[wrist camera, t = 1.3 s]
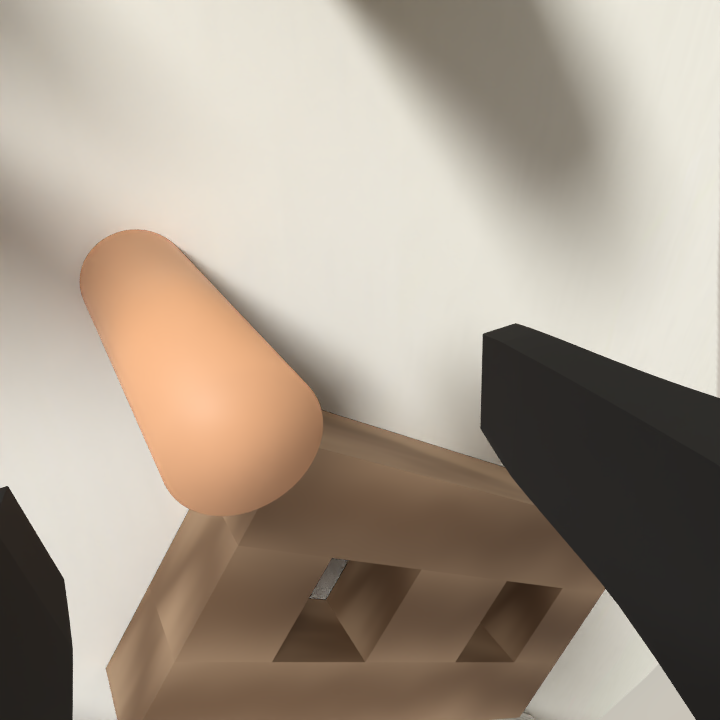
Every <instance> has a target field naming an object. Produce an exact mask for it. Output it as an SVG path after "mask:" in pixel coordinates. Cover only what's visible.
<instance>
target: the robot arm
mask: <svg viewBox="0 0 720 720" xmlns="http://www.w3.org/2000/svg"><path fill="white" fill-rule="evenodd" d="M481 430H482V432H483V433H484V435H485V437H486V438H487V440H488V441H489V443H490V445H491V446H492V448H493V450H494V451H495V453H496V454H497V456H498V457H499V459H500V460H501V462H502V463H503V465H504V466H505V468H506V470H507V471H508V473H509V474H510V476H511V477H512V478H513V480H514V481H515V482H516V483H517V484H518V486H519V487H520V488H521V489H522V490H523V492H524V493H525V494H526V495H527V496H528V498H529V499H530V500H531V501H532V502H533V504H534V505H535V506H536V507H537V508H538V510H539V511H540V512H541V513H542V514H543V515H544V517H545V518H546V519H547V520H548V521H549V522H550V524H551V525H552V526H553V527H554V528H555V529H556V531H557V532H558V533H559V534H560V535H561V536H562V538H563V539H564V540H565V541H566V542H567V544H568V545H569V546H570V547H571V548H572V549H573V551H574V552H575V553H576V554H577V555H578V556H579V558H580V559H581V560H582V561H583V562H584V563H585V565H586V566H587V567H588V568H589V569H590V570H591V572H592V573H593V574H594V575H595V576H596V577H597V579H598V580H599V581H600V582H601V584H602V585H603V586H604V587H605V589H606V590H607V591H608V592H609V594H610V595H611V596H612V597H613V599H614V600H615V601H616V603H617V604H618V605H619V607H620V608H621V609H622V611H623V612H624V614H625V615H626V617H627V618H628V619H629V621H630V622H631V624H632V625H633V627H634V628H635V629H636V631H637V632H638V634H639V635H640V637H641V638H642V640H643V641H644V642H645V644H646V645H647V647H648V648H649V650H650V651H651V652H652V654H653V655H654V657H655V658H656V660H657V661H658V663H659V664H660V666H661V667H662V669H663V670H664V672H665V673H666V675H667V676H668V678H669V679H670V681H671V682H672V684H673V685H674V687H675V688H676V690H677V691H678V693H679V694H680V696H681V698H682V699H683V701H684V702H685V704H686V705H687V707H688V708H689V710H690V711H691V713H692V714H693V716H694V717H695V719H696V720H720V398H717V397H714V396H711V395H708V394H705V393H702V392H699V391H696V390H693V389H690V388H687V387H684V386H681V385H678V384H676V383H673V382H670V381H667V380H664V379H662V378H659V377H656V376H653V375H651V374H648V373H645V372H643V371H640V370H637V369H635V368H632V367H629V366H627V365H624V364H622V363H619V362H616V361H614V360H611V359H609V358H606V357H604V356H601V355H599V354H596V353H594V352H591V351H589V350H586V349H583V348H581V347H578V346H576V345H573V344H571V343H568V342H566V341H563V340H561V339H558V338H556V337H553V336H550V335H548V334H545V333H543V332H540V331H537V330H534V329H532V328H529V327H526V326H523V325H520V324H516V323H515V324H512V325H509V326H506V327H503V328H499V329H496V330H493V331H490V332H487V333H484V334H483V351H482V390H481ZM72 712H73V647H72V638H71V629H70V620H69V612H68V605H67V597H66V590H65V583H64V578H63V577H62V575H61V573H60V572H59V570H58V568H57V567H56V565H55V563H54V562H53V560H52V559H51V557H50V555H49V554H48V552H47V550H46V549H45V547H44V545H43V544H42V542H41V540H40V539H39V537H38V535H37V534H36V532H35V530H34V529H33V527H32V525H31V524H30V522H29V520H28V519H27V517H26V515H25V514H24V512H23V510H22V509H21V507H20V505H19V504H18V502H17V500H16V499H15V497H14V495H13V494H12V492H11V490H10V489H9V487H8V486H6V487H3V488H0V720H72Z"/></svg>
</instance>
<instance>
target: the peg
mask: <svg viewBox="0 0 720 720" xmlns="http://www.w3.org/2000/svg"><path fill="white" fill-rule="evenodd" d="M80 290H81V294H82V297H83V300H84V302H85V304H86V307H87V309H88V311H89V313H90V316H91V318H92V320H93V323H94V325H95V327H96V329H97V332H98V334H99V336H100V338H101V341H102V343H103V345H104V348H105V350H106V352H107V354H108V357H109V359H110V361H111V363H112V366H113V368H114V370H115V373H116V375H117V377H118V379H119V382H120V384H121V386H122V388H123V391H124V393H125V395H126V398H127V400H128V402H129V404H130V407H131V409H132V411H133V413H134V416H135V418H136V420H137V423H138V425H139V427H140V429H141V432H142V434H143V436H144V438H145V441H146V443H147V445H148V448H149V450H150V452H151V454H152V457H153V459H154V461H155V463H156V466H157V468H158V470H159V473H160V475H161V477H162V479H163V482H164V484H165V486H166V487H167V489H168V491H169V492H170V494H171V495H172V496H173V497H174V498H175V499H176V500H177V501H178V502H179V503H181V504H182V505H183V506H185V507H187V508H189V509H190V510H193V511H195V512H198V513H201V514H206V515H211V516H232V515H239V514H243V513H247V512H251V511H253V510H256V509H259V508H261V507H263V506H265V505H267V504H269V503H271V502H273V501H274V500H276V499H278V498H279V497H281V496H282V495H283V494H285V493H286V492H287V491H288V490H290V489H291V488H292V487H293V486H294V485H295V484H296V483H297V482H298V481H299V480H300V479H301V478H302V476H303V475H304V474H305V473H306V471H307V470H308V468H309V467H310V465H311V464H312V462H313V460H314V458H315V456H316V454H317V452H318V449H319V446H320V443H321V438H322V433H323V415H322V410H321V407H320V404H319V401H318V399H317V397H316V396H315V394H314V392H313V391H312V390H311V388H310V387H309V386H308V385H307V384H306V383H305V382H304V381H303V380H302V379H301V378H300V376H299V375H298V374H297V373H296V372H295V371H294V370H293V369H292V368H291V367H290V366H289V365H288V364H287V363H286V362H285V361H284V360H283V359H282V357H281V356H280V355H279V354H278V353H277V352H276V351H275V350H274V349H273V348H272V347H271V346H270V345H269V344H268V343H267V342H266V341H265V340H264V338H263V337H262V336H261V335H260V334H259V333H258V332H257V331H256V330H255V329H254V328H253V327H252V326H251V325H250V324H249V323H248V322H247V320H246V319H245V318H244V317H243V316H242V315H241V314H240V313H239V312H238V311H237V310H236V309H235V308H234V307H233V306H232V305H231V304H230V303H229V301H228V300H227V299H226V298H225V297H224V296H223V295H222V294H221V293H220V292H219V291H218V290H217V289H216V288H215V287H214V286H213V285H212V284H211V282H210V281H209V280H208V279H207V278H206V277H205V276H204V275H203V274H202V273H201V272H200V271H199V270H198V269H197V268H196V267H195V266H194V265H193V263H192V262H191V261H190V260H189V259H188V258H187V257H186V256H185V255H184V254H183V253H182V252H181V251H180V250H179V249H178V248H177V247H176V246H175V245H174V244H173V243H172V242H171V241H170V240H168V239H167V238H165V237H163V236H161V235H159V234H157V233H154V232H151V231H146V230H126V231H121V232H118V233H115V234H112V235H110V236H108V237H106V238H105V239H103V240H102V241H100V242H99V243H98V244H97V245H96V246H95V247H94V248H93V249H92V250H91V251H90V252H89V254H88V255H87V257H86V259H85V261H84V263H83V266H82V268H81V273H80Z"/></svg>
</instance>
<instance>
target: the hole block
mask: <svg viewBox="0 0 720 720" xmlns="http://www.w3.org/2000/svg"><path fill="white" fill-rule="evenodd" d="M322 415H323V433H322V438H321V443H320V446H319V449H318V452H317V454H316V456H315V458H314V460H313V462H312V464H311V465H310V467H309V468H308V470H307V471H306V473H305V474H304V475H303V476H302V478H301V479H300V480H299V481H298V482H297V483H296V484H295V485H294V486H293V487H292V488H291V489H290V490H288V491H287V492H286V493H285V494H283V495H282V496H281V497H279V498H278V499H276V500H274V501H273V502H271V503H269V504H267V505H265V506H263V507H261V508H259V509H256V510H253V511H251V512H247V513H243V514H239V515H232V516H211V515H206V514H201V513H198V512H195V511H193V510H190V509H189V511H188V513H187V515H186V517H185V519H184V521H183V522H182V524H181V526H180V528H179V530H178V532H177V534H176V536H175V538H174V540H173V542H172V543H171V545H170V547H169V549H168V551H167V553H166V555H165V557H164V559H163V561H162V563H161V564H160V566H159V568H158V570H157V572H156V574H155V576H154V578H153V580H152V582H151V583H150V585H149V587H148V589H147V591H146V593H145V595H144V597H143V599H142V601H141V603H140V604H139V606H138V608H137V610H136V612H135V614H134V616H133V618H132V620H131V622H130V624H129V625H128V627H127V629H126V631H125V633H124V635H123V637H122V639H121V641H120V643H119V645H118V646H117V648H116V650H115V652H114V654H113V656H112V658H111V660H110V662H109V664H108V665H107V667H106V671H107V676H108V680H109V685H110V689H111V693H112V698H113V702H114V707H115V711H116V715H117V720H498V719H509V718H519V717H520V716H521V714H522V713H523V711H524V710H525V708H526V707H527V705H528V704H529V702H530V701H531V699H532V698H533V696H534V695H535V693H536V692H537V690H538V689H539V687H540V686H541V684H542V683H543V681H544V680H545V678H546V677H547V675H548V674H549V672H550V671H551V669H552V668H553V666H554V665H555V663H556V662H557V660H558V659H559V657H560V656H561V654H562V653H563V651H564V650H565V648H566V647H567V645H568V644H569V642H570V641H571V639H572V638H573V636H574V635H575V634H576V632H577V631H578V629H579V628H580V626H581V625H582V623H583V622H584V620H585V619H586V617H587V616H588V614H589V613H590V611H591V610H592V608H593V607H594V605H595V604H596V602H597V601H598V599H599V598H600V596H601V595H602V593H603V592H604V590H605V587H604V586H603V585H602V584H601V582H600V581H599V580H598V579H597V577H596V576H595V575H594V574H593V573H592V572H591V570H590V569H589V568H588V567H587V566H586V565H585V563H584V562H583V561H582V560H581V559H580V558H579V556H578V555H577V554H576V553H575V552H574V551H573V549H572V548H571V547H570V546H569V545H568V544H567V542H566V541H565V540H564V539H563V538H562V536H561V535H560V534H559V533H558V532H557V531H556V529H555V528H554V527H553V526H552V525H551V524H550V522H549V521H548V520H547V519H546V518H545V517H544V515H543V514H542V513H541V512H540V511H539V510H538V508H537V507H536V506H535V505H534V504H533V502H532V501H531V500H530V499H529V498H528V496H527V495H526V494H525V493H524V492H523V490H522V489H521V488H520V487H519V486H518V484H517V483H516V482H515V481H514V480H513V478H512V477H511V476H510V474H509V473H508V471H507V470H506V468H505V467H502V466H499V465H496V464H492V463H489V462H486V461H483V460H480V459H476V458H473V457H470V456H467V455H464V454H460V453H457V452H454V451H451V450H448V449H444V448H441V447H438V446H435V445H432V444H428V443H425V442H422V441H419V440H416V439H412V438H409V437H406V436H403V435H400V434H397V433H393V432H390V431H387V430H384V429H381V428H377V427H374V426H371V425H368V424H365V423H361V422H358V421H355V420H352V419H349V418H345V417H342V416H339V415H336V414H333V413H329V412H326V411H323V410H322ZM332 558H336V559H344V560H349V562H348V563H347V565H346V567H345V568H344V570H343V572H342V574H341V575H340V577H339V579H338V580H337V582H336V584H335V586H334V587H333V589H332V591H331V592H330V594H329V596H328V598H327V599H326V600H319V599H309V597H310V595H311V593H312V592H313V590H314V588H315V587H316V585H317V583H318V581H319V580H320V578H321V576H322V574H323V573H324V571H325V569H326V567H327V566H328V564H329V562H330V561H331V559H332Z"/></svg>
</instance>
